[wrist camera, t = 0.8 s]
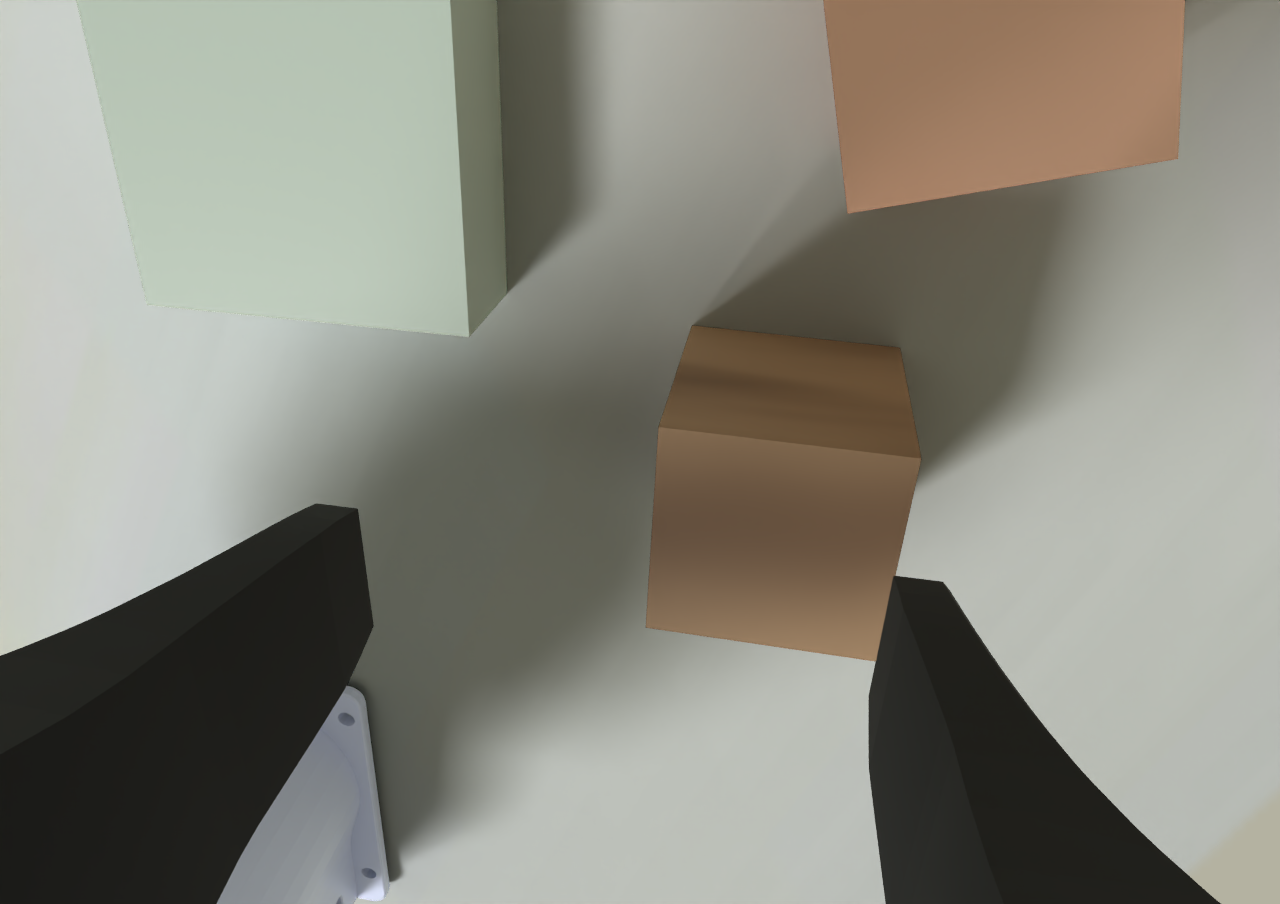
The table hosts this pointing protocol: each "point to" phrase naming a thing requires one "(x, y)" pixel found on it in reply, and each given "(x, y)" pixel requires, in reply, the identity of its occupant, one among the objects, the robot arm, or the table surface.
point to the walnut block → (781, 491)
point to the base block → (309, 156)
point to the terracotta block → (999, 92)
